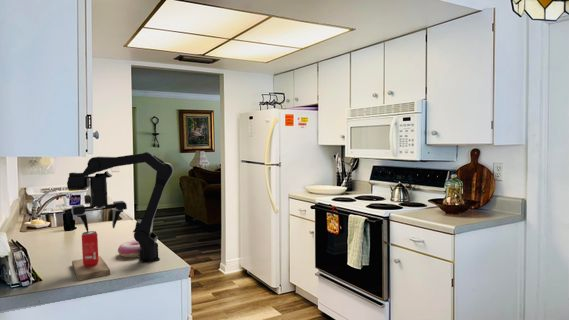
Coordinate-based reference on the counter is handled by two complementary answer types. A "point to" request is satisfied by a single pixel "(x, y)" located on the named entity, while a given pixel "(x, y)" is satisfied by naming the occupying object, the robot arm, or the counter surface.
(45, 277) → the counter surface
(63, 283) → the counter surface
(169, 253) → the counter surface
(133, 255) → the donut
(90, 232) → the beverage can
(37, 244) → the counter surface
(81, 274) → the walnut board
